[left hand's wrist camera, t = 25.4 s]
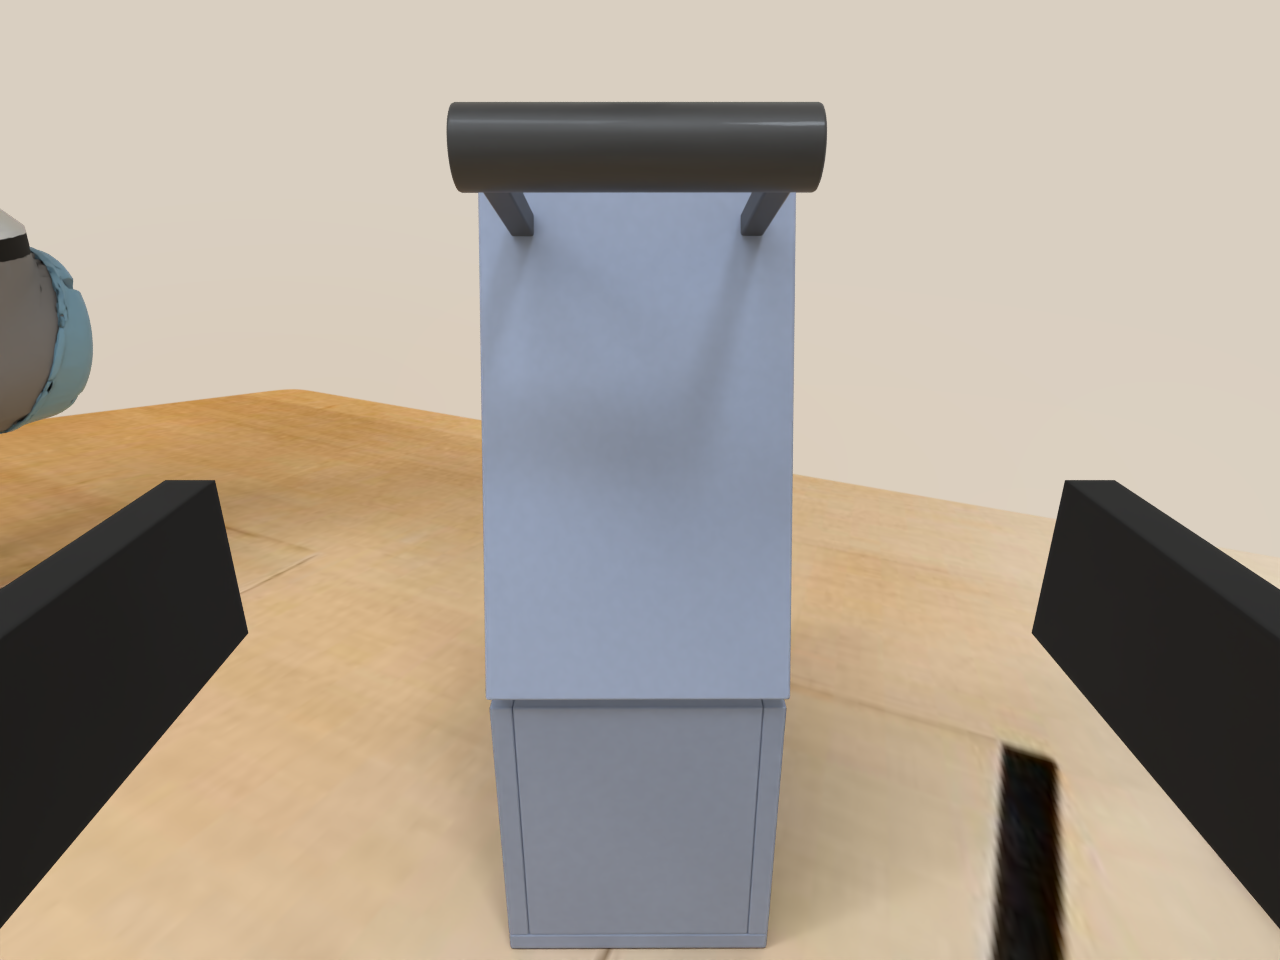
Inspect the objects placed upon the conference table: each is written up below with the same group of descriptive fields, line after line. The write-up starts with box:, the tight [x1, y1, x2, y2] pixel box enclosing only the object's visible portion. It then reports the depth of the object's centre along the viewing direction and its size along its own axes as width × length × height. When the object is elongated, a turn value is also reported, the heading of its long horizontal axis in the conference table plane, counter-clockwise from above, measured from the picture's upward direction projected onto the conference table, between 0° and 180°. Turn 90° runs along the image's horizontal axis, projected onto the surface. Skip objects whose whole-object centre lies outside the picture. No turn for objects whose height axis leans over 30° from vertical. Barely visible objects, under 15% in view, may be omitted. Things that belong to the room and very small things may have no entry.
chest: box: [490, 699, 786, 948], centre depth 36 cm, size 17×10×11 cm, turn 0°
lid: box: [447, 102, 827, 700], centre depth 21 cm, size 18×10×8 cm
